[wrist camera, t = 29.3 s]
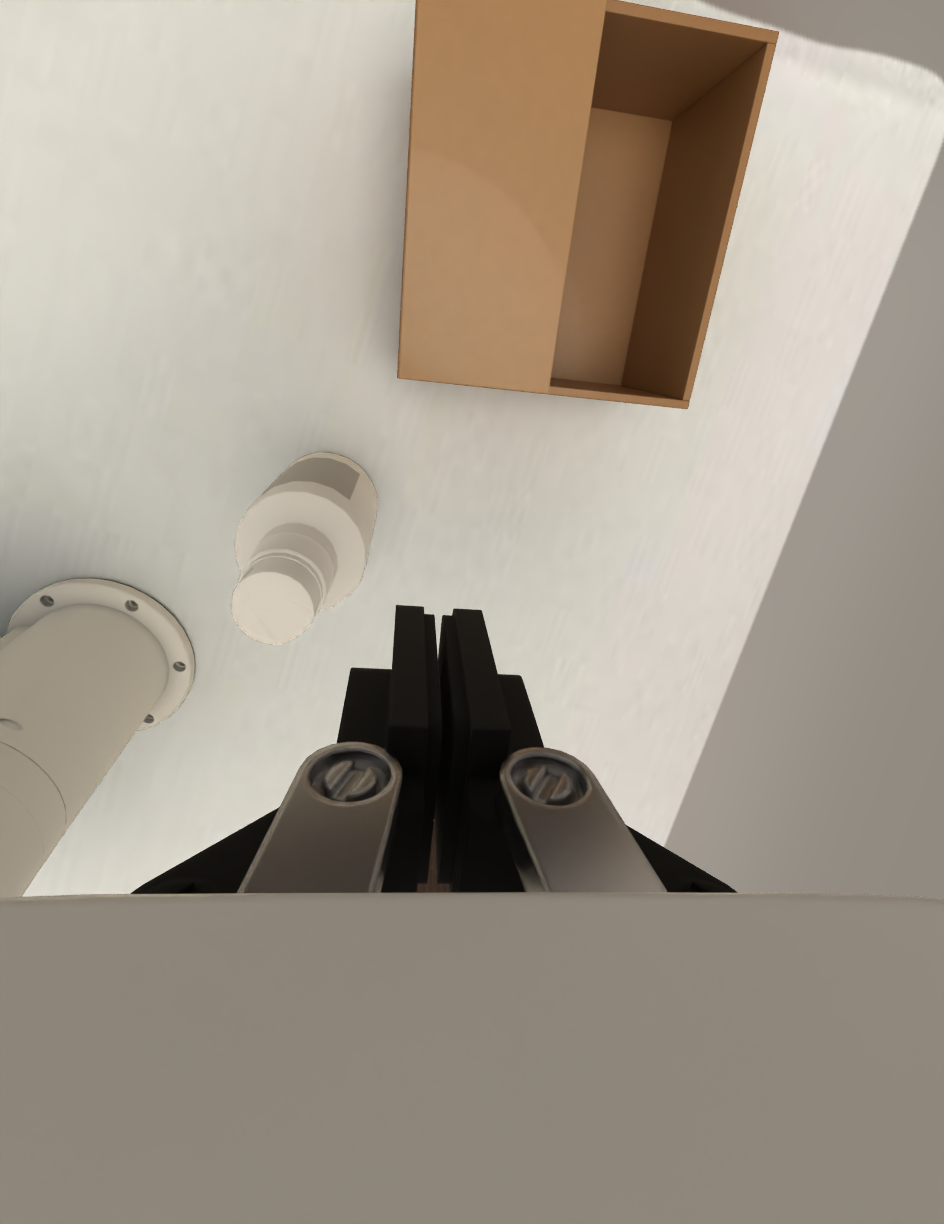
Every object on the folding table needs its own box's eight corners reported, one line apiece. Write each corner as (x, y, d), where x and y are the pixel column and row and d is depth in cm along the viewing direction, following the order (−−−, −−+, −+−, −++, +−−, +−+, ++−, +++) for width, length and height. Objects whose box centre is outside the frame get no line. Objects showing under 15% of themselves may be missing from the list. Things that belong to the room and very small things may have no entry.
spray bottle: (324, 429, 39) (260, 495, 23) (398, 503, 42) (389, 610, 25) (256, 499, 41) (151, 609, 24) (331, 566, 43) (282, 706, 27)
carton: (400, 367, 38) (396, 378, 29) (416, 71, 32) (417, -40, 22) (623, 391, 40) (688, 409, 30) (677, 116, 34) (780, 31, 24)
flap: (398, 377, 28) (398, 378, 28) (419, -44, 22) (419, -50, 22) (546, 393, 29) (548, 394, 29) (605, -5, 23) (609, -11, 23)
